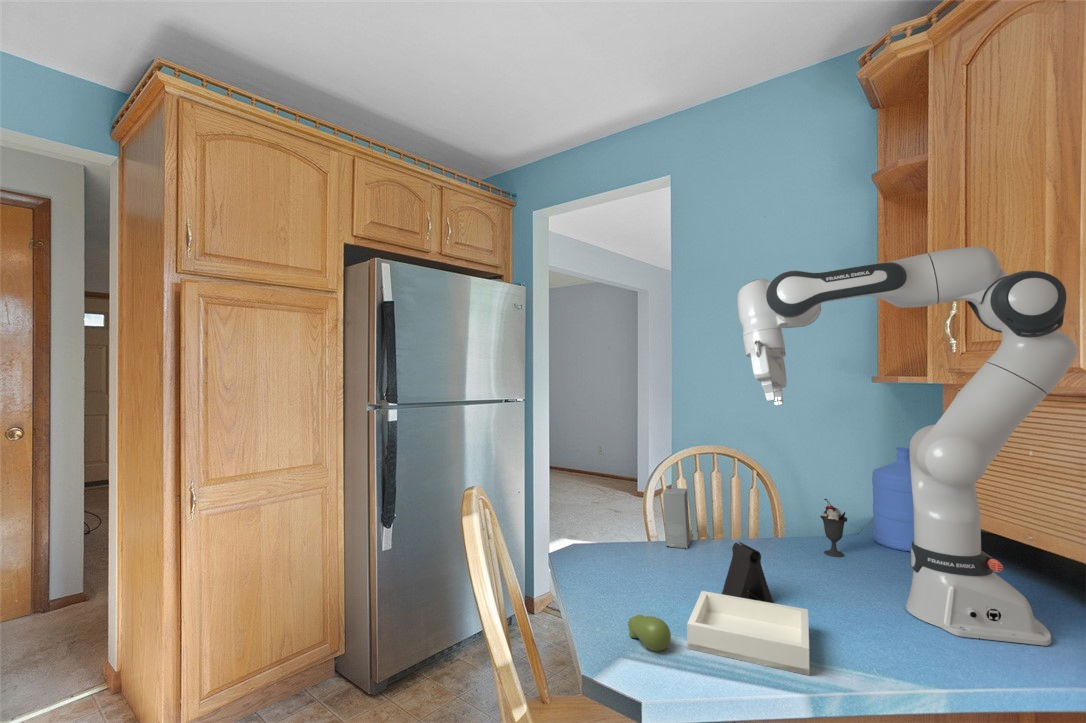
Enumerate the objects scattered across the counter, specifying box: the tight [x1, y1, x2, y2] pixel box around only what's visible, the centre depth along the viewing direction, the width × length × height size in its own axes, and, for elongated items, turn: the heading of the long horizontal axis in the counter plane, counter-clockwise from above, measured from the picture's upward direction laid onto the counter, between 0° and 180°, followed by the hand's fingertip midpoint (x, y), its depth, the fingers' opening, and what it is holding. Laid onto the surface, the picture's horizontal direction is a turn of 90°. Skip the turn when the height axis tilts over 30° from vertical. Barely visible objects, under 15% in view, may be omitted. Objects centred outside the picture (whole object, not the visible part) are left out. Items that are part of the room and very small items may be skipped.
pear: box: [627, 614, 672, 652], centre depth 99 cm, size 6×5×10 cm
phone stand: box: [721, 541, 774, 603], centre depth 116 cm, size 9×6×12 cm, turn 105°
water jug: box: [871, 447, 914, 553], centre depth 154 cm, size 16×16×28 cm
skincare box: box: [662, 487, 691, 550], centre depth 155 cm, size 8×7×16 cm
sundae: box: [820, 498, 848, 558], centre depth 146 cm, size 7×7×15 cm
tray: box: [686, 590, 811, 677], centre depth 99 cm, size 20×16×4 cm
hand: (775, 402), depth 123 cm, fingers open, 8 cm apart
